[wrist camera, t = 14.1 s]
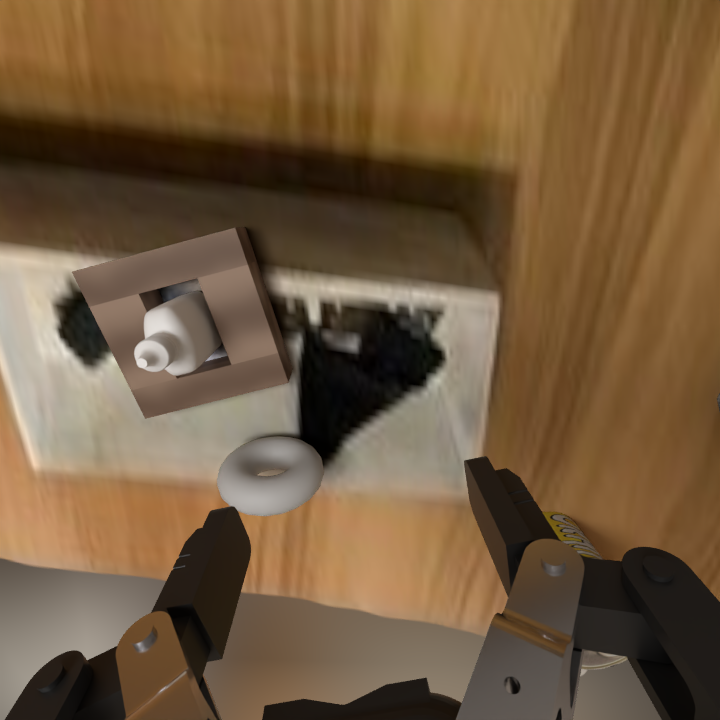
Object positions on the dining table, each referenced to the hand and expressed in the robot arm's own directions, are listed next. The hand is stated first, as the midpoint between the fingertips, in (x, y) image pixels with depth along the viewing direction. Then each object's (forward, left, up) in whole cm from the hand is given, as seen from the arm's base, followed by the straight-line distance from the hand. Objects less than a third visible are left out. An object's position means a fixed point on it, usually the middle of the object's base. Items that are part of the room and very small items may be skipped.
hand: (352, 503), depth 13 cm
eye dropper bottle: (-3, -13, -26) cm, 30 cm away
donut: (+12, -10, -26) cm, 30 cm away
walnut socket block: (-3, -13, -26) cm, 29 cm away
